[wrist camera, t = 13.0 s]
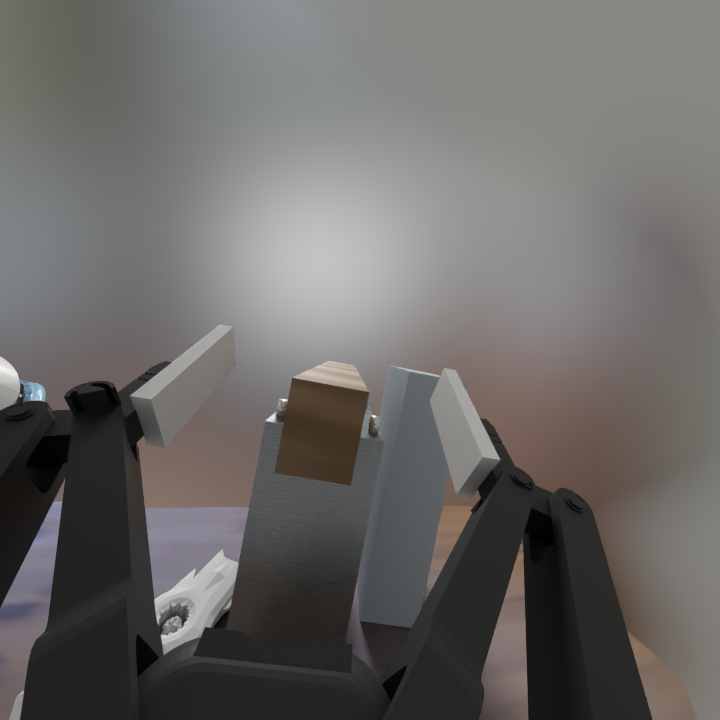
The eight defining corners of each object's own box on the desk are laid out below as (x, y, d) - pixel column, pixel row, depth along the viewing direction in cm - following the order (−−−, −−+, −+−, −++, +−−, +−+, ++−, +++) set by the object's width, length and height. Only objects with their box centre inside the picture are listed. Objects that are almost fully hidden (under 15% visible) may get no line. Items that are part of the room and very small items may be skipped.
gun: (200, 530, 35) (265, 557, 33) (196, 554, 35) (261, 582, 33) (-28, 720, 17) (86, 805, 15) (-32, 766, 17) (79, 854, 15)
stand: (359, 621, 30) (409, 371, 30) (355, 536, 44) (389, 365, 44) (417, 628, 31) (467, 382, 30) (395, 542, 45) (429, 373, 44)
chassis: (212, 699, 22) (268, 402, 21) (269, 551, 38) (302, 381, 37) (330, 713, 22) (387, 424, 22) (337, 562, 38) (370, 393, 38)
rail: (350, 485, 13) (369, 392, 13) (274, 473, 13) (292, 377, 13) (348, 395, 41) (354, 365, 41) (323, 391, 41) (329, 360, 41)
